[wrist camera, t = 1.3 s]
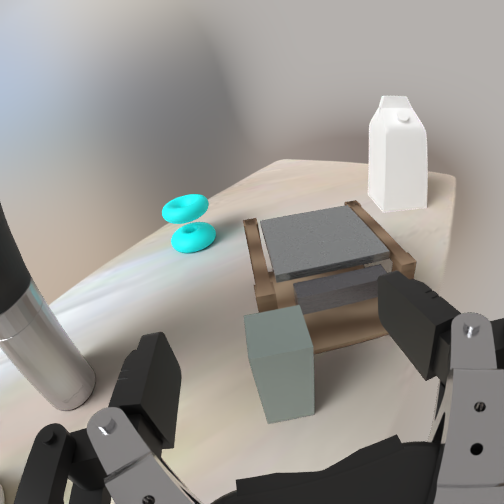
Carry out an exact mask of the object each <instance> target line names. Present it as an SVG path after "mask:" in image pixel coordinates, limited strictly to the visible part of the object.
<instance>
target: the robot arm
mask: <svg viewBox="0 0 504 504" xmlns="http://www.w3.org/2000/svg"><path fill="white" fill-rule="evenodd" d="M377 289H378V315H379V319H380V322H381V324H382V326H383V327H384V328H385V330H386V331H387V332H388V333H389V335H390V336H391V337H392V338H393V340H394V341H395V342H396V343H397V345H398V346H399V347H400V348H401V350H402V351H403V352H404V354H405V355H406V356H407V357H408V359H409V360H410V361H411V362H412V364H413V365H414V366H415V368H416V369H417V370H418V372H419V373H420V374H421V376H422V377H423V378H424V379H425V381H427V380H429V379H431V378H433V377H435V376H437V377H438V378H439V379H440V380H439V385H438V391H437V398H436V405H435V411H434V418H433V422H432V427H431V431H430V435H429V438H428V441H427V442H424V441H423V442H407V443H401V441H400V439H399V438H398V436H397V435H394V436H392V437H390V438H387V439H385V440H382V441H380V442H377V443H375V444H372V445H370V446H367V447H365V448H362V449H359V450H358V451H356V452H355V453H353V454H351V455H350V456H348V457H346V458H345V459H343V460H341V461H339V462H338V463H336V464H334V465H332V466H330V467H329V468H327V469H325V470H322V471H317V472H298V473H273V474H268V475H263V476H257V477H251V478H245V479H238V480H236V487H237V490H235V491H232V492H230V493H228V494H226V495H224V496H222V497H220V498H218V499H217V500H215V501H214V502H212V503H211V504H504V318H502V319H498V320H494V321H489V320H488V319H487V318H486V317H484V316H483V315H481V314H478V313H472V312H470V313H469V312H468V313H463V314H461V313H460V312H459V311H458V310H456V309H455V308H454V307H453V306H451V305H450V304H449V303H448V302H447V301H446V300H444V299H443V298H442V297H439V295H438V294H437V293H436V292H434V291H432V289H431V288H429V287H428V286H427V285H426V284H424V283H422V282H420V281H417V280H414V279H410V280H409V279H408V278H407V277H406V276H404V275H403V274H402V273H401V272H399V271H397V270H396V271H393V272H390V273H387V274H384V275H380V276H379V277H378V279H377ZM0 348H1V349H2V350H3V352H4V353H5V354H6V355H7V357H8V358H9V359H10V360H11V361H12V363H13V364H14V365H15V366H16V367H17V369H18V370H19V371H20V372H21V373H22V374H23V375H24V376H25V378H26V379H27V380H28V381H29V382H30V383H31V384H32V385H33V386H34V387H35V388H36V389H37V391H38V392H39V393H40V394H41V395H42V396H43V397H44V398H45V399H46V400H47V401H48V402H49V403H50V404H52V405H53V406H54V407H55V408H57V409H59V410H66V411H67V410H72V409H74V408H77V407H78V406H80V405H81V404H83V403H84V402H85V401H86V400H87V399H88V397H89V396H90V395H91V393H92V391H93V389H94V385H95V373H94V370H93V369H92V368H91V366H90V365H89V364H88V362H87V361H86V360H85V359H84V357H83V356H82V355H81V353H80V352H79V350H78V349H77V348H76V346H75V345H74V343H73V342H72V341H71V339H70V338H69V336H68V335H67V333H66V332H65V331H64V329H63V328H62V326H61V325H60V323H59V322H58V320H57V319H56V317H55V315H54V314H53V312H52V311H51V309H50V308H49V306H48V304H47V303H46V301H45V299H44V298H43V296H42V295H41V293H40V291H39V289H38V288H37V286H36V284H35V282H34V281H33V279H32V277H31V275H30V273H29V271H28V270H27V268H26V266H25V263H24V261H23V259H22V257H21V254H20V252H19V249H18V247H17V245H16V243H15V240H14V238H13V236H12V234H11V231H10V229H9V226H8V224H7V221H6V219H5V215H4V212H3V209H2V206H1V203H0ZM118 379H119V380H117V383H116V386H115V388H114V391H113V394H112V397H111V400H110V403H109V406H108V408H104V409H102V410H100V411H98V412H97V413H95V414H94V415H93V416H92V417H91V419H90V420H89V422H88V425H87V428H85V429H82V430H78V431H75V432H71V433H69V432H68V431H67V430H66V429H65V428H64V427H63V426H62V425H61V424H57V423H54V424H50V425H47V426H45V427H44V428H43V429H42V430H40V432H39V433H38V434H37V436H36V438H35V441H34V443H33V446H32V449H31V451H30V454H29V457H28V460H27V463H26V466H25V469H24V472H23V475H22V478H21V481H20V484H19V487H18V491H17V494H16V498H15V501H14V504H64V500H63V497H64V492H65V487H66V483H67V479H69V480H71V481H72V482H73V486H72V491H71V495H70V500H69V504H110V503H111V497H112V498H113V500H114V502H115V504H203V503H202V502H201V501H200V500H199V499H198V498H197V497H196V496H195V495H194V494H193V493H192V492H191V491H190V490H189V489H188V488H187V486H186V485H185V484H184V483H183V482H182V481H181V480H180V479H179V477H178V476H177V475H176V474H175V473H174V472H173V470H172V469H171V468H170V467H169V466H168V464H167V463H166V462H165V461H164V460H163V459H162V457H161V453H162V449H170V448H174V441H175V431H176V421H177V412H178V403H179V395H180V387H181V370H180V366H179V363H178V361H177V359H176V357H175V355H174V353H173V351H172V349H171V347H170V345H169V343H168V341H167V338H166V336H165V335H164V333H163V332H158V333H153V334H147V335H143V336H142V337H141V340H140V342H139V345H138V348H137V350H134V351H132V352H131V353H130V355H129V356H128V357H127V358H126V359H125V361H124V364H123V366H122V369H121V372H120V374H119V377H118Z"/></svg>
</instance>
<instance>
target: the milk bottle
mask: <svg viewBox="0 0 504 504" xmlns="http://www.w3.org/2000/svg"><path fill="white" fill-rule="evenodd" d="M0 504H5V497H4V491H3V488H2V486H1V484H0Z"/></svg>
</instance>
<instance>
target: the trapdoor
mask: <svg viewBox="0 0 504 504" xmlns="http://www.w3.org/2000/svg"><path fill="white" fill-rule="evenodd" d="M260 223H261V228H262V232H263V235H264V239H265V242H266V246H267V250H268V253H269V257H270V261H271V264H272V268H273V271H274V275H275V279H276V282H277V283H278V282H283V281H288V280H293V279H298V278H303V277H308V276H313V275H317V274H322V273H327V272H332V271H336V270H341V269H345V268H350V267H354V266H359V265H363V264H368V263H372V262H377V261H381V260H385V259H389V254H390V251H389V250H388V249H387V247H386V246H385V245H384V244H383V243H382V242H381V241H380V240H379V238H378V237H377V236H376V235H375V234H374V233H373V232H372V231H371V230H370V229H369V227H368V226H367V225H366V224H365V223H364V222H363V221H362V220H361V219H360V218H359V217H358V216H357V215H356V214H355V212H354V211H353V210H352V209H351V208H350V207H349V206H348V205H346V206H340V207H334V208H329V209H323V210H317V211H311V212H306V213H300V214H294V215H289V216H283V217H278V218H273V219H267V220H262V221H260ZM384 274H387V272H386V271H385V270H384V268H383V267H382V266H381V264H380V265H375V266H371V267H367V268H362V269H358V270H353V271H349V272H344V273H340V274H335V275H331V276H326V277H321V278H317V279H312V280H307V281H302V282H297V283H293V288H294V298H295V303H296V305H300V307H301V310H302V313H303V315H305V314H309V313H314V312H318V311H323V310H327V309H331V308H336V307H340V306H344V305H348V304H352V303H356V302H360V301H364V300H368V299H372V298H376V297H378V289H377V279H378V277H379V276H380V275H384Z"/></svg>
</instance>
